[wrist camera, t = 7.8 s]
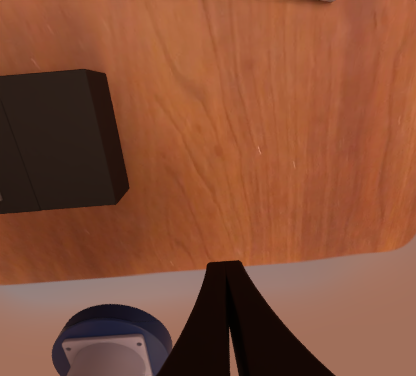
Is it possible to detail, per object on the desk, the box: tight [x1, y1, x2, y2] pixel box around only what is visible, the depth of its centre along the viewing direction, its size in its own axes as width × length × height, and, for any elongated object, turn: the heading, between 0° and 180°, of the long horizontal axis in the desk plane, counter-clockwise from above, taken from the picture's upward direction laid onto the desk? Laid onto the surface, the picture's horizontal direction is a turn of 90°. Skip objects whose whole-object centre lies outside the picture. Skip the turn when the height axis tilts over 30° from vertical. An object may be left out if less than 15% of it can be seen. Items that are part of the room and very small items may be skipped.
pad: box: [0, 69, 129, 210], centre depth 16 cm, size 8×5×3 cm, turn 4°
